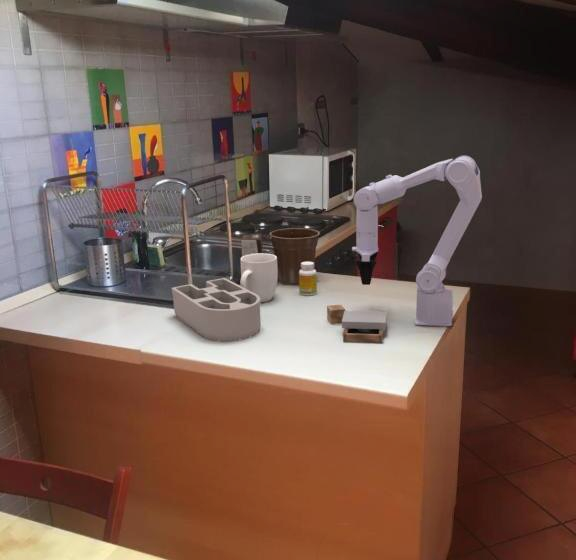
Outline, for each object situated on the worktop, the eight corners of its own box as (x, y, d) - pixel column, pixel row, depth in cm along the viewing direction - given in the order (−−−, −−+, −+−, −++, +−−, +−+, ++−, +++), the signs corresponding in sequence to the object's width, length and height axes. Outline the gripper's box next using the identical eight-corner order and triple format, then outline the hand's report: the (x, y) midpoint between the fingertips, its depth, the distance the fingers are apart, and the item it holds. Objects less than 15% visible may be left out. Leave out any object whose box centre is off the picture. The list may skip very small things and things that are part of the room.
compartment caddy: (226, 305, 189) (224, 277, 187) (273, 333, 166) (271, 302, 164) (173, 316, 181) (171, 287, 179) (214, 347, 158) (212, 315, 155)
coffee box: (263, 288, 204) (260, 239, 199) (242, 289, 204) (240, 239, 199) (264, 280, 212) (262, 233, 208) (245, 280, 213) (242, 233, 208)
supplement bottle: (315, 296, 194) (314, 265, 192) (298, 295, 195) (297, 265, 193) (318, 290, 199) (317, 260, 197) (301, 290, 200) (300, 260, 198)
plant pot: (318, 272, 220) (317, 226, 215) (322, 286, 204) (321, 237, 199) (271, 274, 219) (269, 228, 215) (271, 288, 204) (269, 239, 199)
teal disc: (370, 328, 167) (370, 323, 167) (370, 333, 164) (370, 327, 164) (358, 328, 168) (358, 323, 167) (357, 332, 165) (357, 327, 164)
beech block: (341, 318, 175) (341, 304, 174) (345, 323, 171) (345, 309, 170) (327, 319, 174) (327, 305, 173) (330, 324, 171) (330, 310, 170)
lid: (386, 318, 168) (386, 312, 167) (385, 329, 160) (385, 322, 160) (344, 317, 169) (344, 311, 169) (341, 328, 162) (341, 321, 161)
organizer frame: (383, 323, 170) (383, 316, 169) (382, 343, 157) (382, 335, 156) (347, 322, 171) (347, 315, 171) (343, 341, 158) (343, 334, 158)
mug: (259, 311, 183) (257, 267, 179) (227, 305, 188) (225, 263, 184) (285, 296, 195) (283, 255, 191) (254, 292, 200) (253, 251, 197)
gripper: (353, 226, 178) (354, 272, 182) (350, 237, 164) (350, 287, 168) (379, 226, 177) (378, 273, 181) (377, 237, 163) (377, 288, 167)
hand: (366, 280), depth 174 cm, fingers open, 7 cm apart
